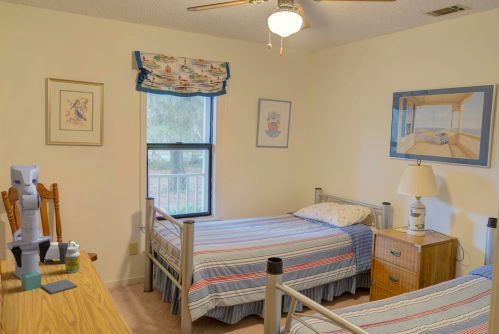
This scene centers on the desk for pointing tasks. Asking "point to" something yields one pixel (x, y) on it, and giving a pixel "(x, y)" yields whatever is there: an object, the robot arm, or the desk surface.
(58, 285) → the slate mat
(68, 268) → the supplement bottle
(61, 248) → the giant panda
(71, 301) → the desk surface
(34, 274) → the teal cube
